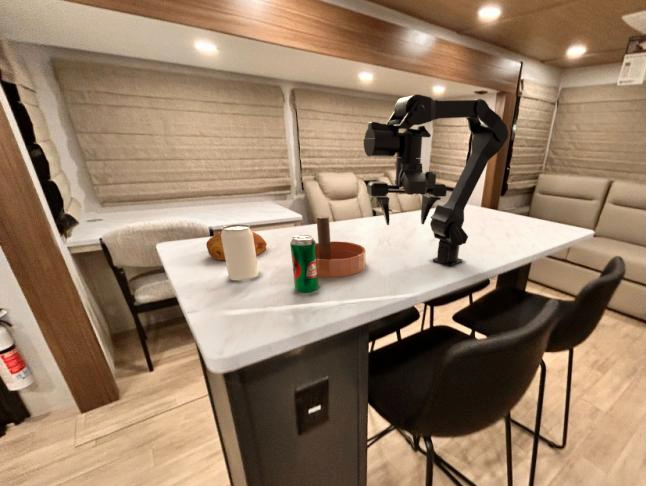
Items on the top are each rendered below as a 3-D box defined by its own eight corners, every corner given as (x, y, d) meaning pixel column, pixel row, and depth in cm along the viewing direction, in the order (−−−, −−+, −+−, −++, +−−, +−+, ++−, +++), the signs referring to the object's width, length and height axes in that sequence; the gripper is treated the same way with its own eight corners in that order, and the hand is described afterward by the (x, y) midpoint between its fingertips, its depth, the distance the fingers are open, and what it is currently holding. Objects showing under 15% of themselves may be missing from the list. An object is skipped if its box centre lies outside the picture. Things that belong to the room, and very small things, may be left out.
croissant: (200, 265, 85) (190, 238, 81) (238, 243, 98) (230, 219, 94) (246, 270, 82) (237, 242, 78) (278, 246, 95) (272, 221, 91)
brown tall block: (333, 264, 82) (331, 215, 77) (335, 268, 80) (332, 218, 74) (316, 265, 81) (313, 215, 76) (317, 269, 78) (313, 218, 73)
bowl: (338, 254, 92) (338, 238, 90) (377, 268, 82) (378, 250, 80) (289, 267, 80) (287, 249, 78) (328, 285, 71) (327, 265, 69)
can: (265, 274, 76) (257, 225, 71) (244, 283, 70) (235, 231, 65) (244, 270, 78) (235, 222, 73) (222, 279, 72) (212, 228, 67)
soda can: (312, 296, 65) (308, 241, 61) (290, 293, 66) (284, 239, 61) (322, 287, 70) (319, 235, 65) (302, 284, 71) (297, 233, 66)
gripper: (376, 157, 62) (375, 233, 69) (460, 160, 67) (452, 231, 74) (366, 156, 72) (366, 222, 78) (440, 159, 77) (435, 221, 83)
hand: (405, 224), depth 78 cm, fingers open, 9 cm apart
